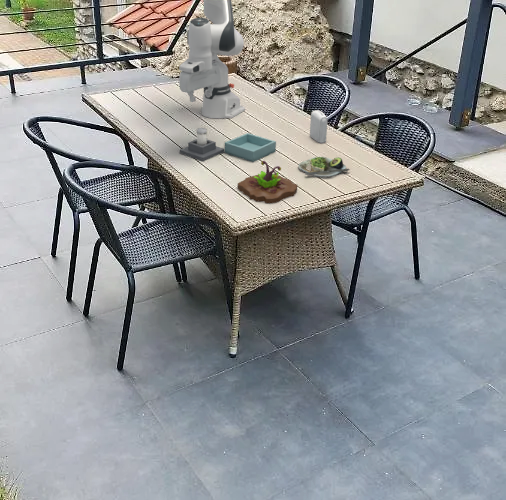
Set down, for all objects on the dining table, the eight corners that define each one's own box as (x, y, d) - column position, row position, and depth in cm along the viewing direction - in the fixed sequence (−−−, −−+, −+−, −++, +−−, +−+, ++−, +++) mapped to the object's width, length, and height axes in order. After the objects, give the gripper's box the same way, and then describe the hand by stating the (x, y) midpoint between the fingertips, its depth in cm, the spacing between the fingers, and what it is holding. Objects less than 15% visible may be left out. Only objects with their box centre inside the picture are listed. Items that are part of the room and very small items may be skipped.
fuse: (201, 150, 271) (201, 127, 266) (208, 152, 269) (208, 129, 264) (195, 152, 268) (194, 129, 263) (202, 155, 266) (202, 131, 261)
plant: (268, 175, 251) (269, 147, 246) (305, 192, 239) (307, 163, 233) (228, 189, 240) (229, 160, 234) (265, 207, 227) (266, 178, 222)
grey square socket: (201, 144, 277) (200, 134, 274) (224, 152, 270) (224, 141, 268) (179, 153, 268) (179, 142, 266) (203, 161, 261) (203, 150, 259)
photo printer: (308, 135, 289) (310, 108, 283) (317, 134, 290) (319, 107, 284) (318, 143, 281) (320, 116, 274) (327, 142, 282) (329, 115, 276)
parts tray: (247, 143, 279) (247, 132, 277) (275, 151, 272) (276, 141, 269) (224, 152, 269) (224, 142, 267) (253, 162, 261) (253, 151, 259)
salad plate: (321, 185, 245) (322, 174, 242) (287, 170, 256) (287, 159, 253) (354, 172, 256) (355, 161, 254) (320, 158, 267) (321, 147, 265)
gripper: (212, 57, 259) (212, 91, 266) (176, 66, 245) (177, 102, 252) (224, 59, 256) (224, 94, 263) (188, 69, 242) (189, 106, 249)
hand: (201, 98), depth 257 cm, fingers open, 8 cm apart
